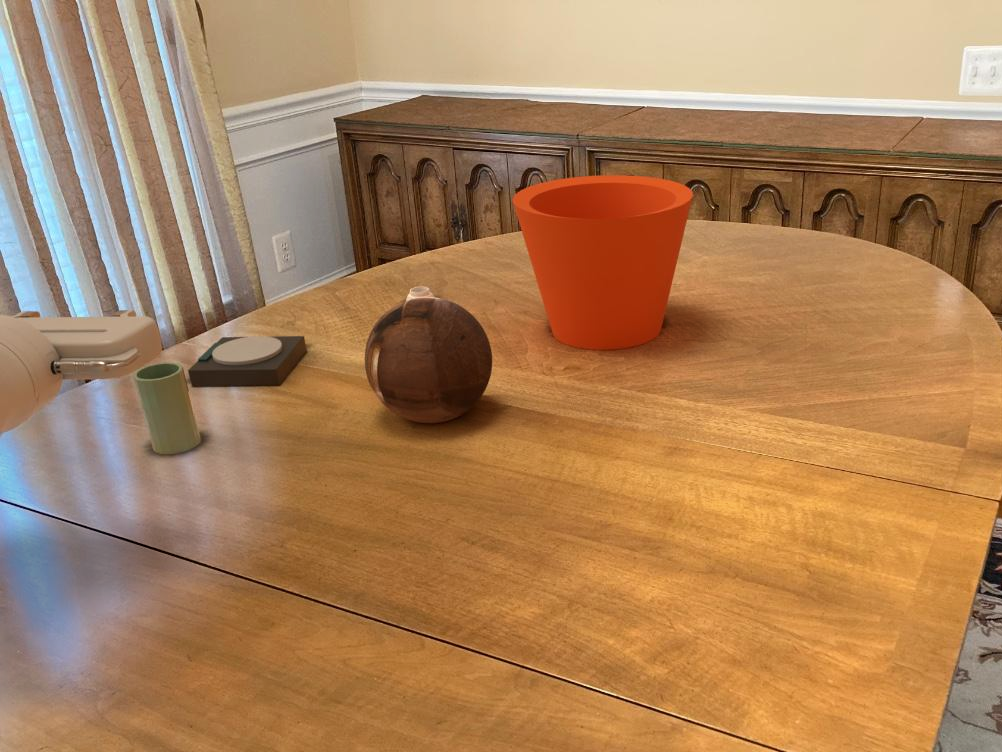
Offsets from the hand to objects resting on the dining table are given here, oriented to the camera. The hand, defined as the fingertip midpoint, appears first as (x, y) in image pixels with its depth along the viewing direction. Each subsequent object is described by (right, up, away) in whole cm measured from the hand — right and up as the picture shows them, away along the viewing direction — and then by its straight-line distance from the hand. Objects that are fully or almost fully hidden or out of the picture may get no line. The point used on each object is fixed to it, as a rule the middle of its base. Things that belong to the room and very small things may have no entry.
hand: (81, 318), depth 95 cm
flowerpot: (+51, +5, +50) cm, 72 cm away
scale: (+2, -1, +41) cm, 41 cm away
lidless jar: (+22, +10, +61) cm, 66 cm away
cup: (+1, -13, +19) cm, 23 cm away
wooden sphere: (+30, -9, +25) cm, 40 cm away
